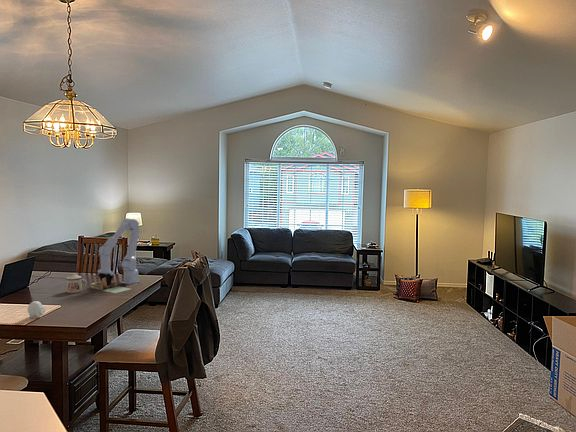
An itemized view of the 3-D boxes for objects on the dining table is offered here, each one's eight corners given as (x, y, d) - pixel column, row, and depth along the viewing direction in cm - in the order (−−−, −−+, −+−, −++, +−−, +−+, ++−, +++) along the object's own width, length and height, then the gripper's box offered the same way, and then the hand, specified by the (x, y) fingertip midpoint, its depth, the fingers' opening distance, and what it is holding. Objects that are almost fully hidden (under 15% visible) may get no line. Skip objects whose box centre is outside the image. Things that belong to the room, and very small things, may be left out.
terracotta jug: (107, 286, 305) (106, 277, 305) (111, 286, 303) (111, 278, 302) (98, 287, 300) (98, 278, 299) (103, 288, 297) (102, 279, 297)
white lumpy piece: (26, 302, 232) (36, 298, 244) (26, 319, 232) (36, 314, 244) (39, 302, 233) (48, 298, 245) (39, 318, 233) (48, 314, 245)
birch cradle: (105, 284, 311) (105, 280, 310) (116, 286, 304) (116, 282, 304) (89, 287, 301) (89, 283, 300) (100, 290, 294) (100, 286, 294)
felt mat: (119, 286, 303) (119, 286, 303) (132, 289, 296) (132, 288, 296) (101, 290, 292) (101, 290, 292) (114, 293, 286) (114, 293, 286)
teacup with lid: (65, 293, 285) (64, 275, 284) (67, 290, 293) (66, 272, 292) (86, 292, 288) (85, 274, 287) (87, 289, 297) (87, 271, 296)
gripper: (93, 264, 301) (93, 284, 302) (107, 266, 293) (107, 287, 295) (102, 262, 307) (103, 282, 308) (116, 264, 299) (117, 285, 301)
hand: (106, 284), depth 302 cm, fingers closed on terracotta jug, 5 cm apart
